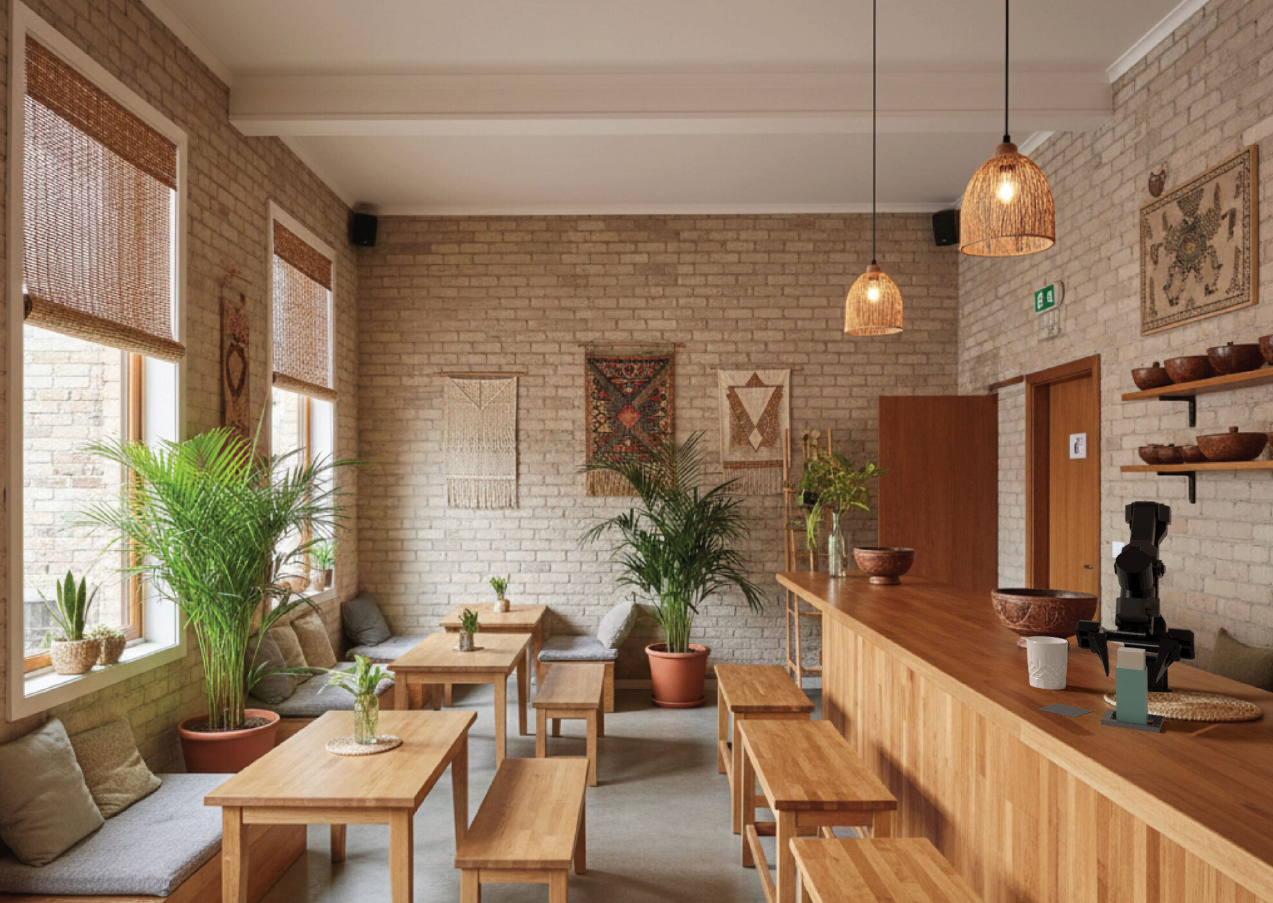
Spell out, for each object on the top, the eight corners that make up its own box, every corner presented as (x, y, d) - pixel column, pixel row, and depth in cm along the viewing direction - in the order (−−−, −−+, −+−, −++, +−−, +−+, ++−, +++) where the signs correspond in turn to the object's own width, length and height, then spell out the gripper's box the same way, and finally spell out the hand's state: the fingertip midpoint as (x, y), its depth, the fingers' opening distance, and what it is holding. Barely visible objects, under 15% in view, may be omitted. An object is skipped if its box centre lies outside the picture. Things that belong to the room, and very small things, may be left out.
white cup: (1073, 693, 178) (1072, 644, 179) (1031, 691, 180) (1031, 642, 180) (1062, 684, 186) (1061, 637, 186) (1023, 682, 188) (1022, 635, 188)
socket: (1099, 712, 164) (1099, 705, 164) (1174, 722, 157) (1174, 715, 157) (1089, 727, 154) (1089, 720, 154) (1169, 739, 147) (1169, 731, 147)
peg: (1119, 718, 159) (1118, 646, 159) (1148, 722, 156) (1146, 649, 156) (1116, 724, 155) (1115, 650, 155) (1145, 728, 152) (1144, 653, 153)
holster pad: (1056, 705, 169) (1056, 703, 169) (1093, 713, 163) (1093, 711, 163) (1037, 711, 164) (1037, 709, 164) (1074, 720, 159) (1074, 717, 159)
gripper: (1076, 576, 165) (1066, 645, 155) (1193, 583, 154) (1191, 657, 145) (1083, 613, 171) (1074, 681, 162) (1196, 622, 160) (1194, 695, 151)
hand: (1130, 678), depth 155 cm, fingers open, 7 cm apart
